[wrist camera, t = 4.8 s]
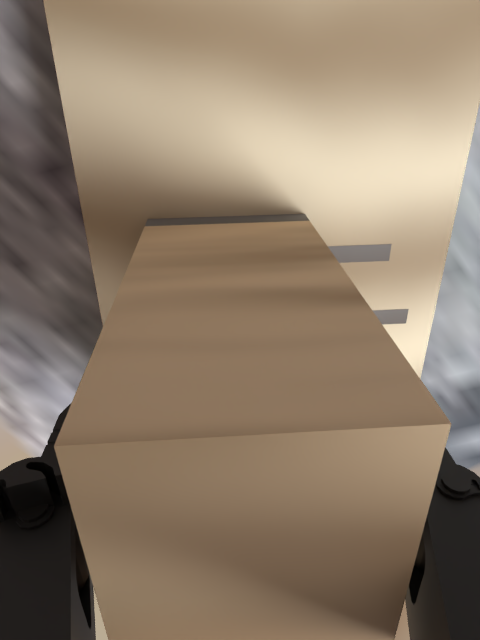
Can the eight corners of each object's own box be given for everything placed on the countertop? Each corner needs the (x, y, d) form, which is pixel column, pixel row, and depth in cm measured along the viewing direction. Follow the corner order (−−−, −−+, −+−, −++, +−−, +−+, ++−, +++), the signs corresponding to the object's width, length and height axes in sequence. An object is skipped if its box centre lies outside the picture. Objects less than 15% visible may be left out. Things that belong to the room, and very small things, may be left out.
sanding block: (147, 218, 14) (53, 446, 6) (304, 213, 15) (451, 424, 6) (170, 416, 18) (135, 736, 9) (294, 409, 18) (373, 715, 10)
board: (45, -58, 12) (29, -70, 11) (490, -59, 13) (516, -71, 11) (127, 416, 20) (122, 436, 19) (400, 401, 20) (411, 420, 19)
